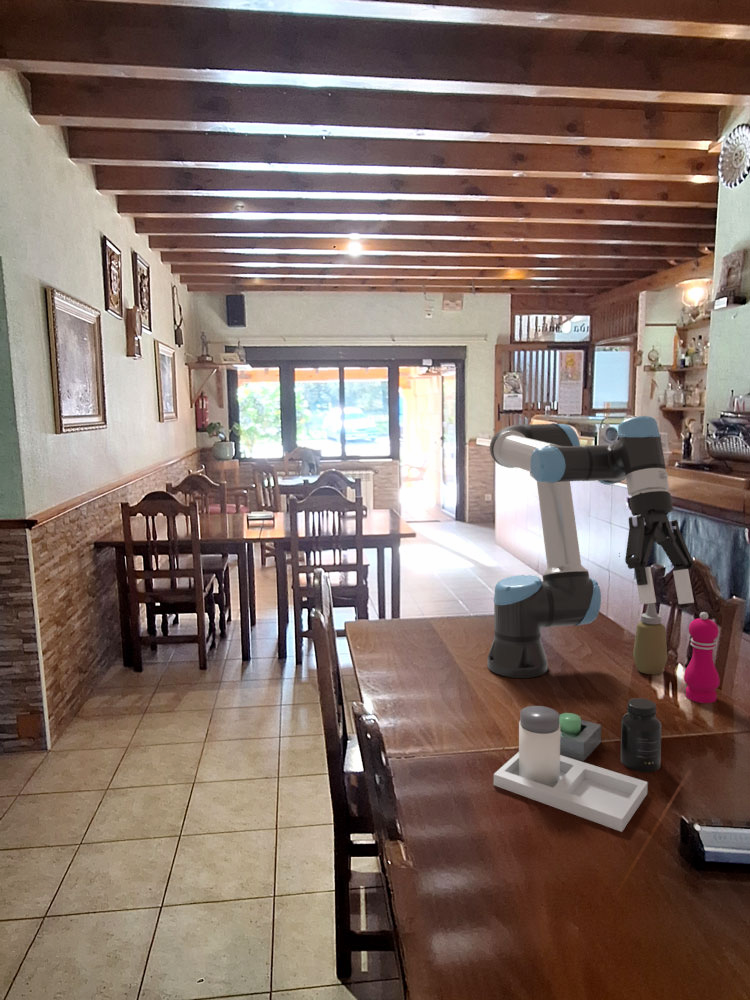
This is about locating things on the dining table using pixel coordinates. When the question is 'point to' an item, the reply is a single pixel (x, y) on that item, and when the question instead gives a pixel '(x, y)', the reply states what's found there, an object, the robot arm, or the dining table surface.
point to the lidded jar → (539, 745)
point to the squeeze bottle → (650, 643)
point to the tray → (580, 791)
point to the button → (570, 723)
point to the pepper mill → (702, 661)
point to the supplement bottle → (641, 736)
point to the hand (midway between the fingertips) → (667, 603)
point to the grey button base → (581, 741)
